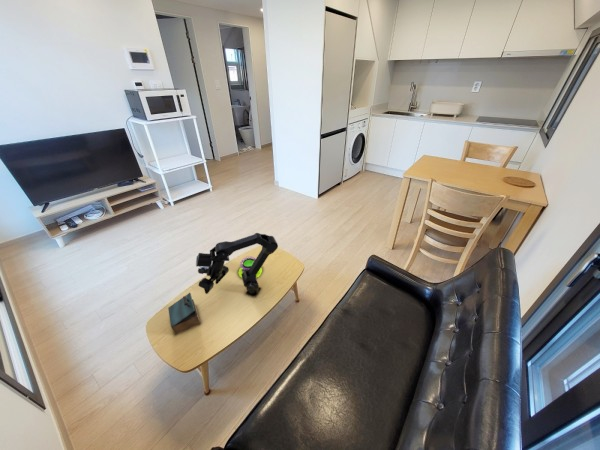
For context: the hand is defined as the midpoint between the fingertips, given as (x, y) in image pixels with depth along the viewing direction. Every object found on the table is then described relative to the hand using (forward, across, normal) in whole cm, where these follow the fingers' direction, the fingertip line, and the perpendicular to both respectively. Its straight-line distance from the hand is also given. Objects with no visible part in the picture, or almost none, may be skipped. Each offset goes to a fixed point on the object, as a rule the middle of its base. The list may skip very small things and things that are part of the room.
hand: (211, 288), depth 127 cm
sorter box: (+17, +10, -4) cm, 20 cm away
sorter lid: (+9, +12, -7) cm, 17 cm away
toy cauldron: (+2, -30, +10) cm, 31 cm away
